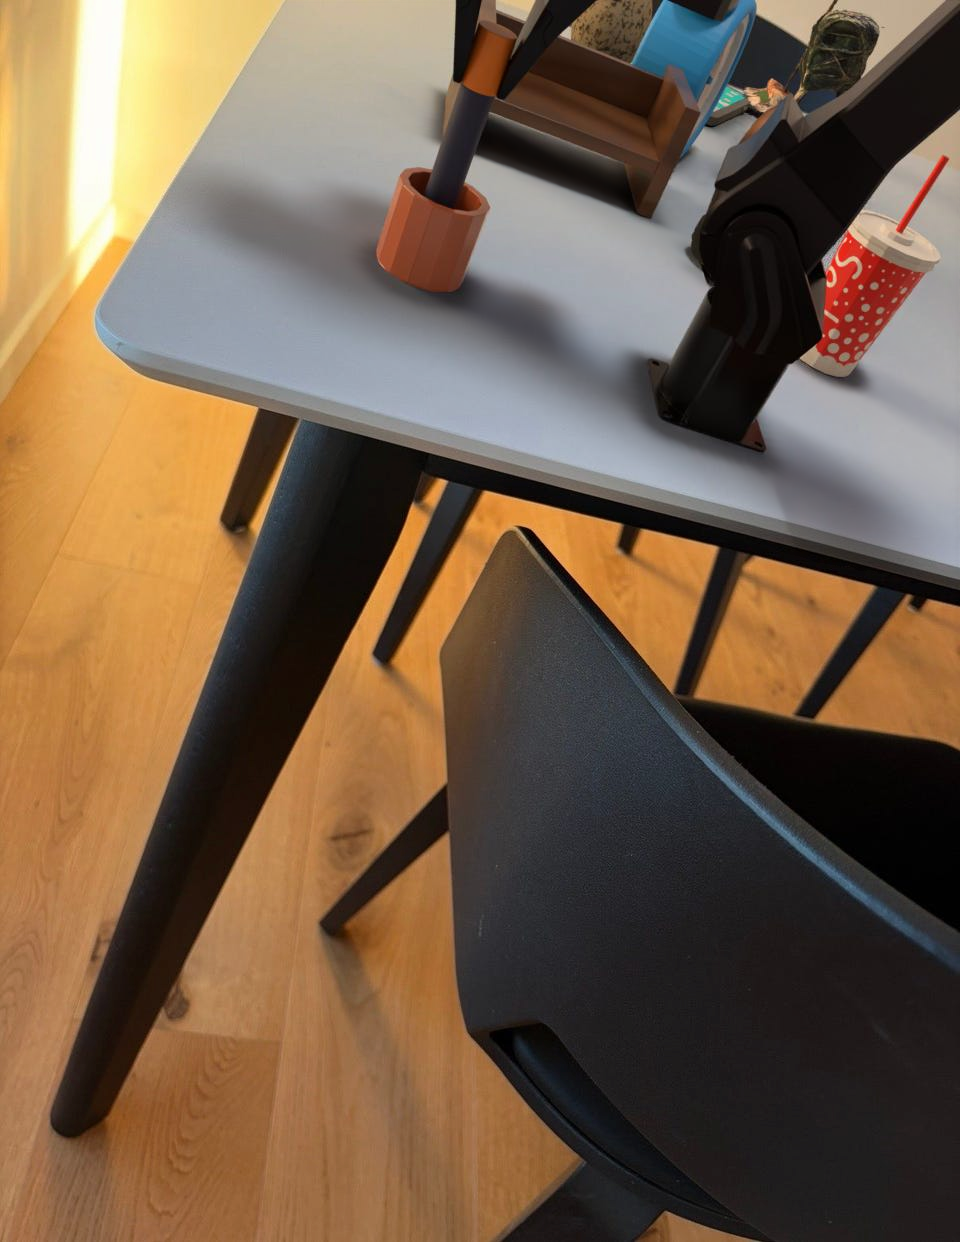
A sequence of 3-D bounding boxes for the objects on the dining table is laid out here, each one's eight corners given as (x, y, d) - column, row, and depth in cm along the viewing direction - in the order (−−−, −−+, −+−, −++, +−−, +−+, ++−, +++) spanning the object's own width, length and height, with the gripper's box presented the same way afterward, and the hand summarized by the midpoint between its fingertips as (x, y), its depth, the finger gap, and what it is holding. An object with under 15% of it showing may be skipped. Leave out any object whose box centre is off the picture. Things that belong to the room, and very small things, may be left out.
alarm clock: (659, 177, 90) (751, -18, 81) (593, 142, 91) (676, -56, 81) (697, 148, 100) (783, -29, 91) (638, 116, 101) (716, -63, 91)
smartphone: (641, 76, 107) (688, 61, 118) (637, 86, 108) (684, 70, 119) (717, 118, 106) (757, 99, 117) (712, 128, 106) (752, 109, 118)
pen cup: (459, 309, 61) (490, 226, 58) (369, 279, 60) (396, 192, 57) (460, 269, 65) (490, 189, 61) (376, 240, 63) (402, 157, 60)
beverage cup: (774, 320, 76) (891, 121, 67) (852, 352, 77) (978, 159, 68) (784, 362, 72) (910, 154, 63) (867, 395, 73) (1004, 194, 64)
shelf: (651, 218, 82) (701, 112, 77) (441, 141, 79) (480, 24, 74) (637, 168, 90) (682, 69, 85) (445, 95, 86) (480, -14, 81)
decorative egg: (549, 47, 107) (590, -66, 101) (613, 67, 110) (657, -40, 104) (569, 75, 102) (614, -41, 96) (636, 96, 105) (683, -15, 99)
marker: (452, 226, 59) (518, 43, 53) (417, 214, 59) (478, 27, 53) (453, 211, 61) (517, 31, 55) (419, 199, 60) (479, 16, 54)
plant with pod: (825, 153, 116) (948, -50, 103) (730, 100, 116) (841, -109, 103) (831, 138, 122) (948, -56, 109) (741, 88, 122) (847, -111, 109)
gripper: (769, -215, 54) (631, 103, 64) (402, -393, 50) (315, -23, 59) (820, -183, 46) (653, 176, 55) (385, -394, 41) (288, 36, 51)
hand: (478, 88), depth 56 cm, fingers closed on marker, 2 cm apart
